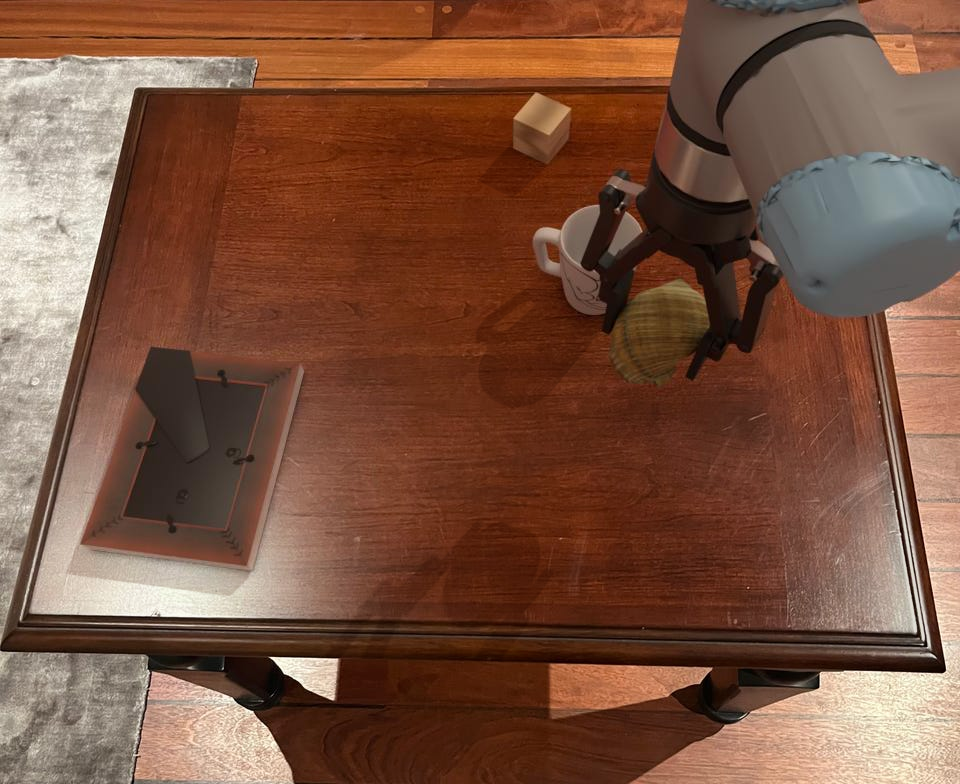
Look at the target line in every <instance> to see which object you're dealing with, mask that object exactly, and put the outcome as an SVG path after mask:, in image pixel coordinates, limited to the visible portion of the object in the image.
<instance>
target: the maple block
mask: <svg viewBox="0 0 960 784" xmlns="http://www.w3.org/2000/svg"><path fill="white" fill-rule="evenodd" d="M571 118H572V108H571V107H569V106H567V105H565V104H562V103H561V102H558V101H556V100H554V99H551V98H550V97H548V96H546V95H543V94H541V93H538V92H535V93H534V94H533V95H532V96H531V97H530V98H529V100H528V101H527V102H526V103H525V104H524V105H523V107H522V108H521V109H520V110H519V111H518V112H517V113H516V114H515V116H514V117H513V119H512V120H513V122H512V123H513V124H512V125H513V128H512V141H513V142H512V149H513V150H515V151H518V152H519V153H522V154H524V155H526V156H528V157H530V158H532V159H534V160H536V161H539V162H540V163H542V164H544V165H546V166H549V164H550V163H551V161H552V160H553V159H554V157H555V156H556V155H557V154H558V153H559V152H560V150H561V149H562V148H563V147H564V145H565V144H566V143H567V142H568V140H569V138H570V128H571Z"/></svg>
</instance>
